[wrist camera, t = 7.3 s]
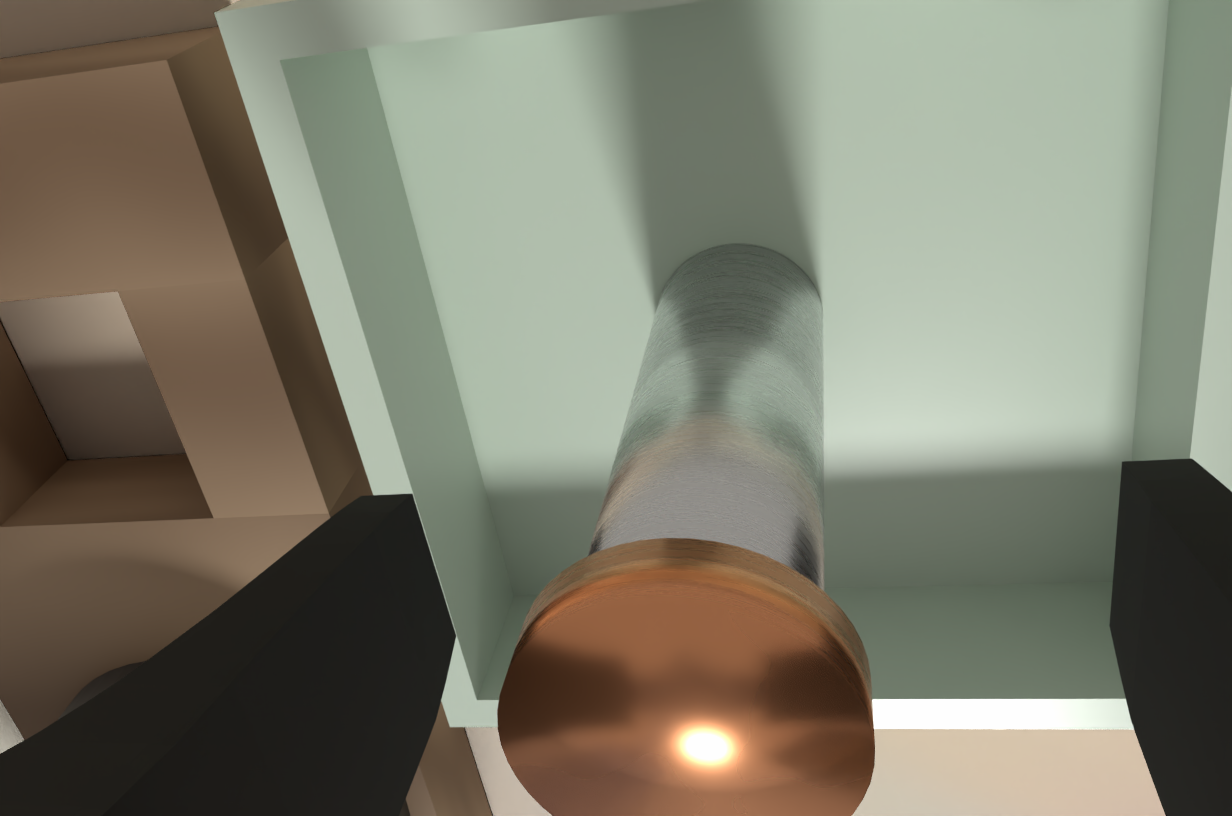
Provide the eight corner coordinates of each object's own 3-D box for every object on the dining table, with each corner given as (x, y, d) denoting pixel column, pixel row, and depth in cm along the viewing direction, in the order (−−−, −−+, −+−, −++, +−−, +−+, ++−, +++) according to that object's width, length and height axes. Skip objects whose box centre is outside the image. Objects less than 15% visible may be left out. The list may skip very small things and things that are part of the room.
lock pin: (857, 408, 17) (882, 875, 10) (646, 419, 17) (536, 864, 11) (844, 205, 15) (864, 597, 8) (613, 227, 16) (459, 605, 9)
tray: (1151, 589, 18) (1205, 729, 16) (495, 603, 20) (449, 727, 18) (1229, -181, 13) (1331, -157, 10) (316, -36, 15) (213, 12, 12)
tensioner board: (507, 863, 24) (434, 1129, 20) (183, 853, 26) (45, 1095, 22) (238, 23, 16) (-11, 151, 11) (-227, 92, 17) (-611, 227, 13)
